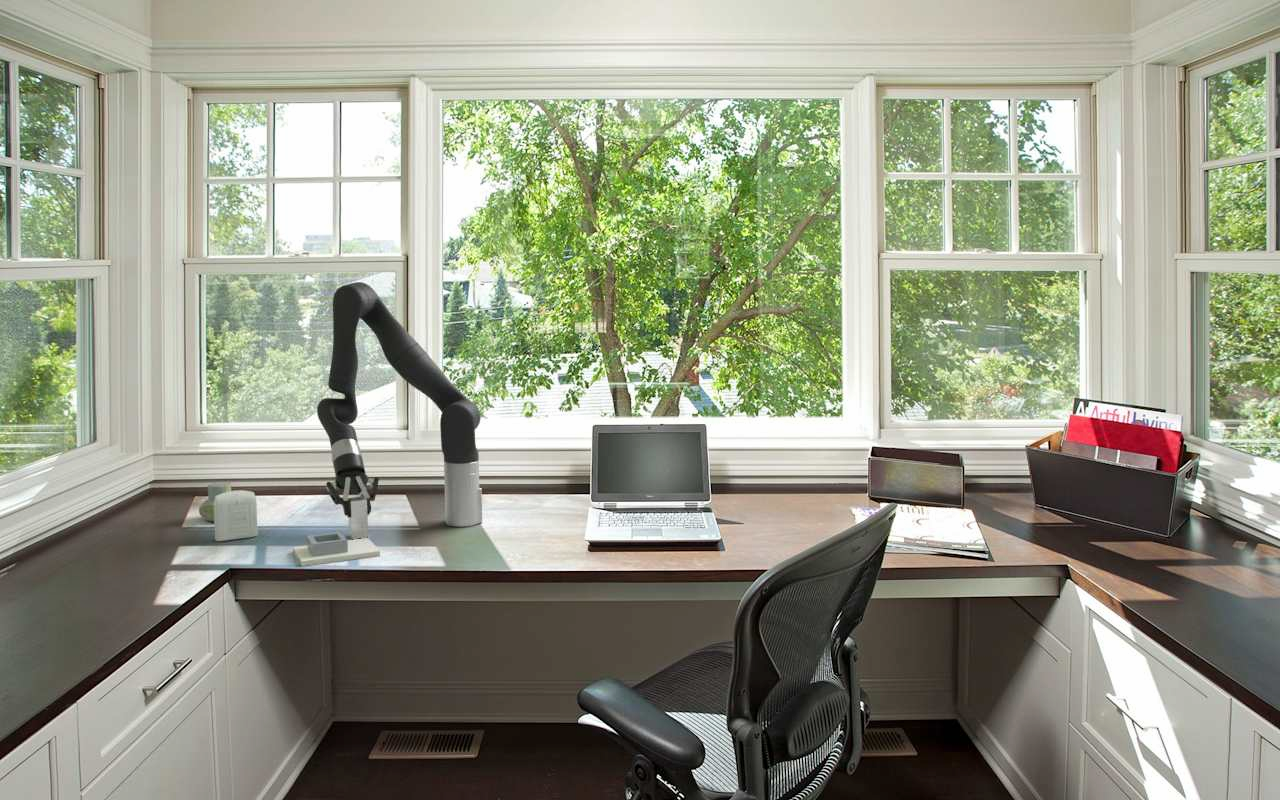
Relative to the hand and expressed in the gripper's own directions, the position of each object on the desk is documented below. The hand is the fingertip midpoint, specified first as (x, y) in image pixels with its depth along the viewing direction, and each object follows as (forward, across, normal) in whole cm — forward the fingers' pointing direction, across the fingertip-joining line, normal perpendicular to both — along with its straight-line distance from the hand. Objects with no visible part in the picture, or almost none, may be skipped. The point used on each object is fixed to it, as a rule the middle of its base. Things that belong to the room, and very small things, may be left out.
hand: (358, 514), depth 248 cm
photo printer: (-5, -28, +14) cm, 32 cm away
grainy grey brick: (+4, 0, +5) cm, 6 cm away
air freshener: (-21, -30, +30) cm, 47 cm away
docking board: (+13, -8, -4) cm, 16 cm away
